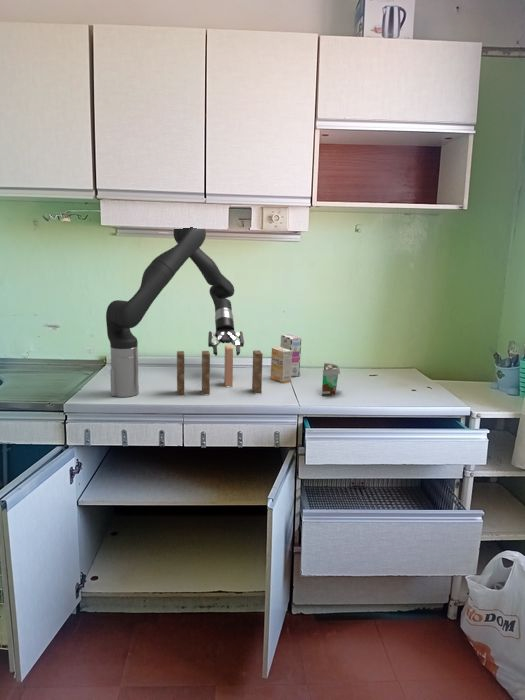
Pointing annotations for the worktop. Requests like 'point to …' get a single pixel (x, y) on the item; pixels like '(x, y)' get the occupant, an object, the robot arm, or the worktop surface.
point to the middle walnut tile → (205, 372)
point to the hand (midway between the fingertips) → (227, 354)
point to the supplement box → (281, 364)
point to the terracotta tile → (228, 366)
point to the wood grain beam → (257, 371)
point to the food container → (330, 379)
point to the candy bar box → (294, 345)
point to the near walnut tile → (180, 372)
